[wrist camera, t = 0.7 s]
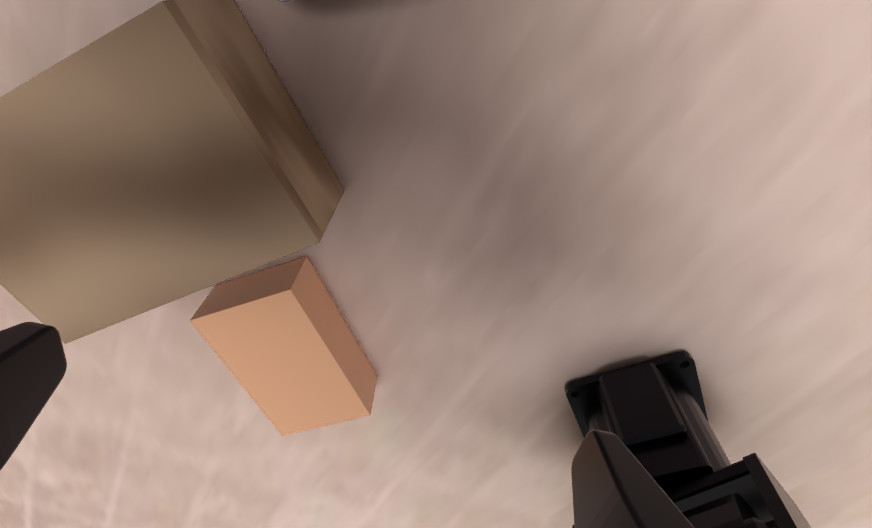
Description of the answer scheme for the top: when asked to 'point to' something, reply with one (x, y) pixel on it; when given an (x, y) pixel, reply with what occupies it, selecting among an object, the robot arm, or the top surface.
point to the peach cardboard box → (289, 347)
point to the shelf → (153, 169)
